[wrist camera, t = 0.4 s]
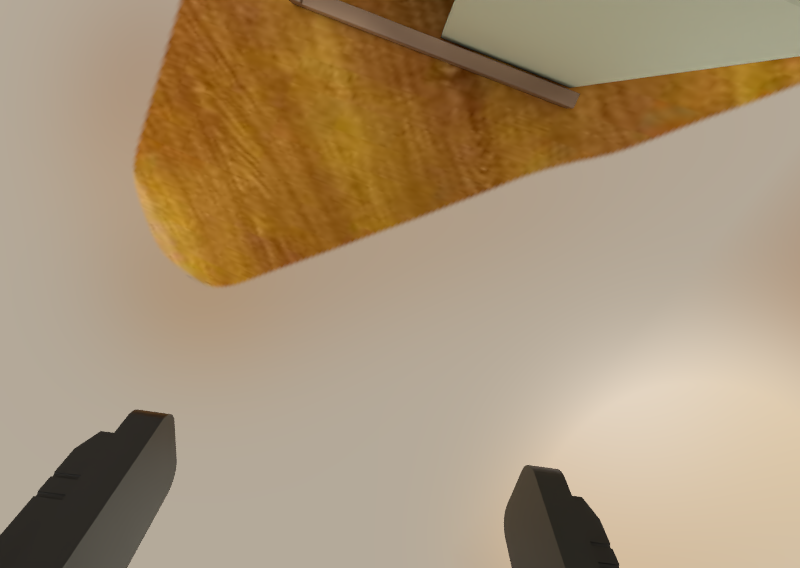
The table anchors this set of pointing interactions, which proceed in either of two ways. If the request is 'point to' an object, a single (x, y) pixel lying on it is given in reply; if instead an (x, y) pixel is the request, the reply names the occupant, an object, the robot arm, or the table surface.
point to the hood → (624, 35)
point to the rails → (441, 50)
